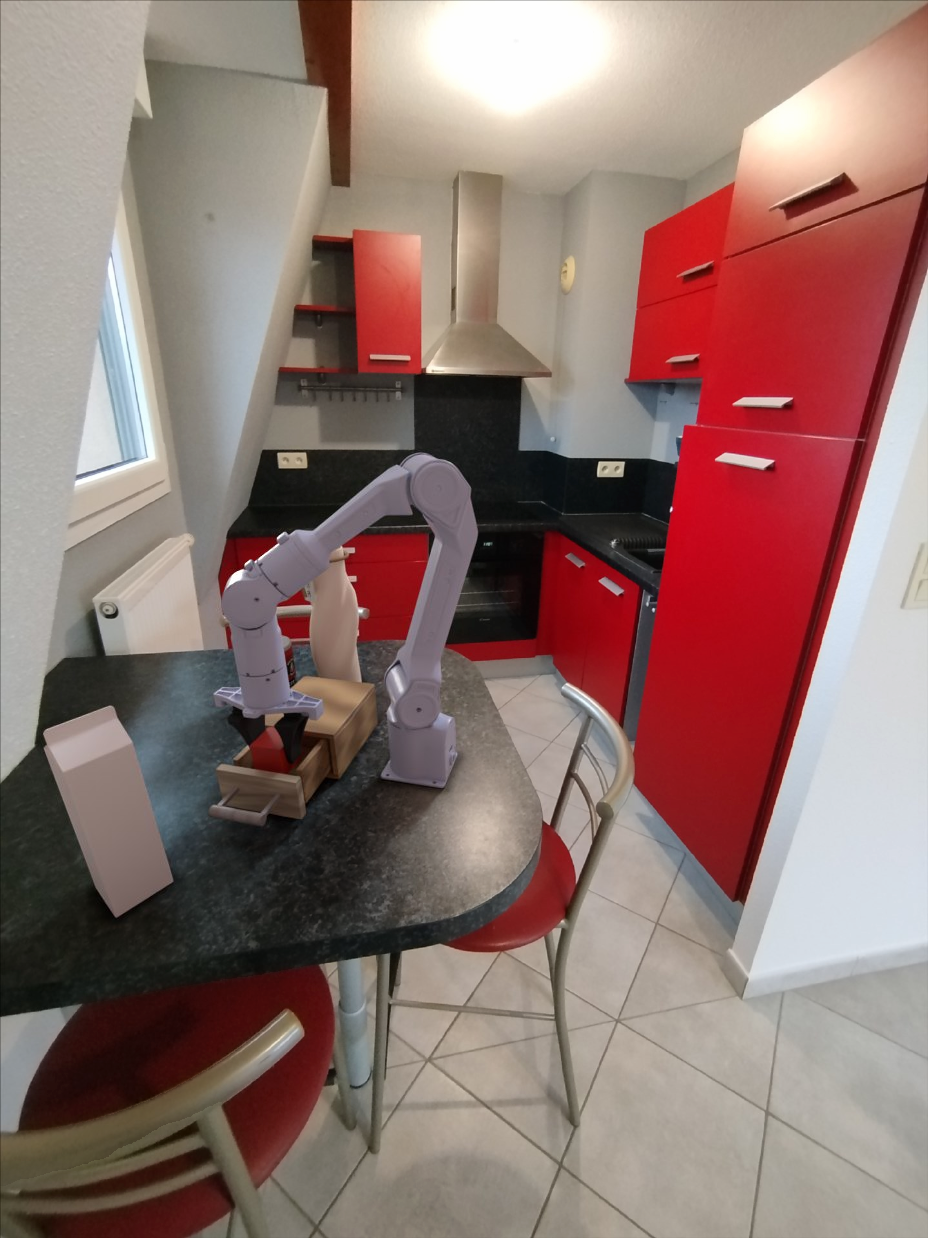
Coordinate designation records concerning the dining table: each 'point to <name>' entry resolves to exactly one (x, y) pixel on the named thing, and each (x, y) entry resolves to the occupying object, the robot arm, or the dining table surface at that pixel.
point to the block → (270, 753)
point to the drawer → (271, 785)
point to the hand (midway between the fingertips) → (277, 756)
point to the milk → (108, 807)
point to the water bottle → (334, 621)
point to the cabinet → (338, 717)
